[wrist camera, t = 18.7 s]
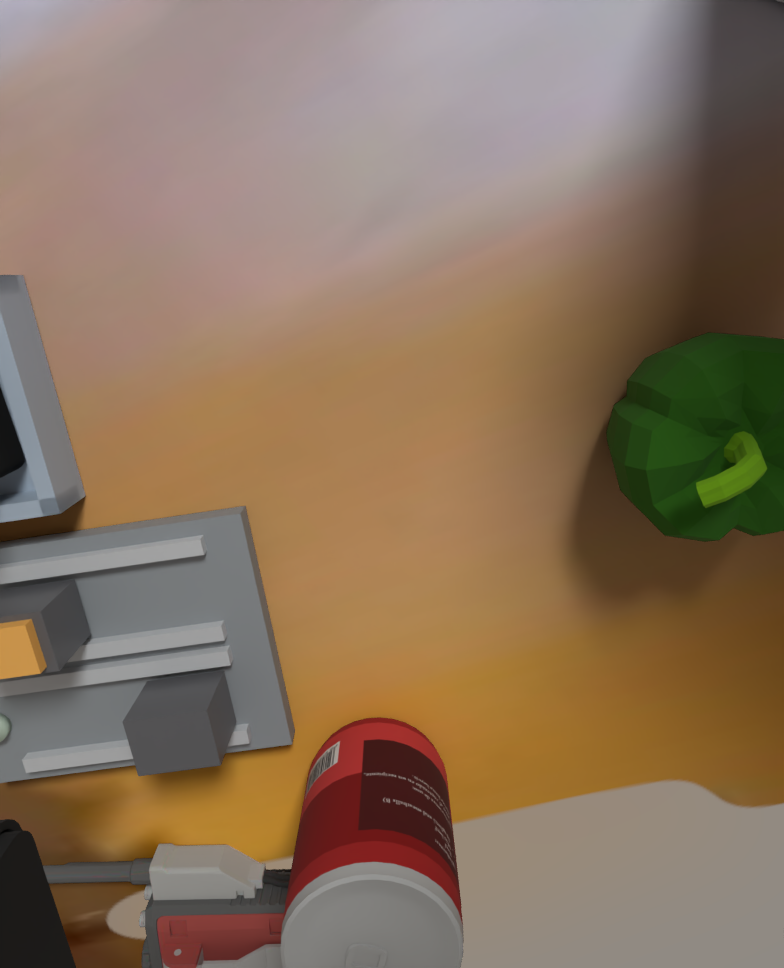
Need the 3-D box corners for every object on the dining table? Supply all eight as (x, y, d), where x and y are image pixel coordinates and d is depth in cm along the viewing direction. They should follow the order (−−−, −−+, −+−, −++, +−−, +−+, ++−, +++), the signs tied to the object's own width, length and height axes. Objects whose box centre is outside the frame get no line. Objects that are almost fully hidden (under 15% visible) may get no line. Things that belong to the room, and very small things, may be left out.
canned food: (314, 836, 41) (286, 1030, 31) (303, 714, 39) (269, 878, 28) (448, 831, 41) (467, 1024, 30) (444, 709, 39) (463, 870, 28)
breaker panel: (-65, 551, 36) (-88, 565, 35) (245, 505, 36) (237, 517, 34) (11, 768, 40) (-6, 790, 38) (294, 730, 39) (290, 751, 37)
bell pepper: (760, 314, 33) (911, 329, 23) (756, 485, 35) (891, 563, 26) (578, 335, 33) (652, 358, 24) (584, 503, 36) (655, 587, 26)
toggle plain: (147, 681, 37) (122, 721, 33) (224, 670, 36) (206, 710, 33) (161, 731, 38) (138, 776, 34) (236, 721, 37) (220, 765, 34)
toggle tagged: (-5, 590, 35) (-55, 630, 31) (74, 579, 35) (33, 617, 31) (13, 645, 36) (-34, 690, 32) (90, 634, 36) (53, 678, 32)
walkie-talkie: (369, 832, 42) (24, 840, 42) (366, 895, 37) (-17, 904, 38) (374, 951, 44) (49, 957, 44) (372, 1023, 40) (13, 1030, 40)
